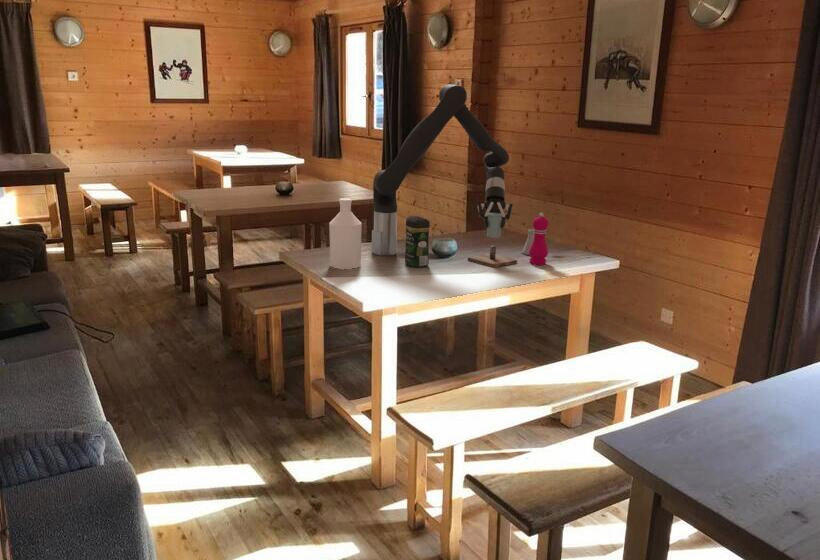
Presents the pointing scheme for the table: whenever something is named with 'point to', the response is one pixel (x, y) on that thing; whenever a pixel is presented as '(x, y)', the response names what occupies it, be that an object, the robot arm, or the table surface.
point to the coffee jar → (417, 241)
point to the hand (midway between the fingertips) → (494, 226)
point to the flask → (528, 242)
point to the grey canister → (494, 224)
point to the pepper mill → (539, 241)
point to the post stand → (492, 259)
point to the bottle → (345, 238)
